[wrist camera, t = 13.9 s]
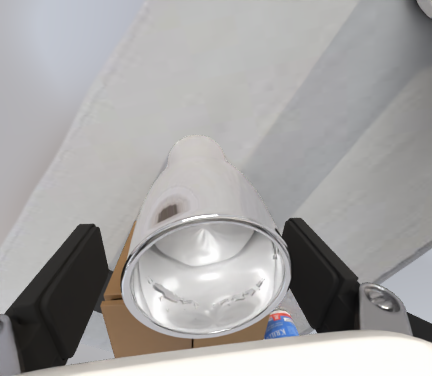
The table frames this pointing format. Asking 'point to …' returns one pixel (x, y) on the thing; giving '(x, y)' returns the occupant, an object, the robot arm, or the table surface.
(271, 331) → the pill bottle
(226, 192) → the beer glass
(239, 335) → the flap
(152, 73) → the table surface
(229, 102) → the table surface
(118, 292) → the carton
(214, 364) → the robot arm
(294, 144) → the table surface
